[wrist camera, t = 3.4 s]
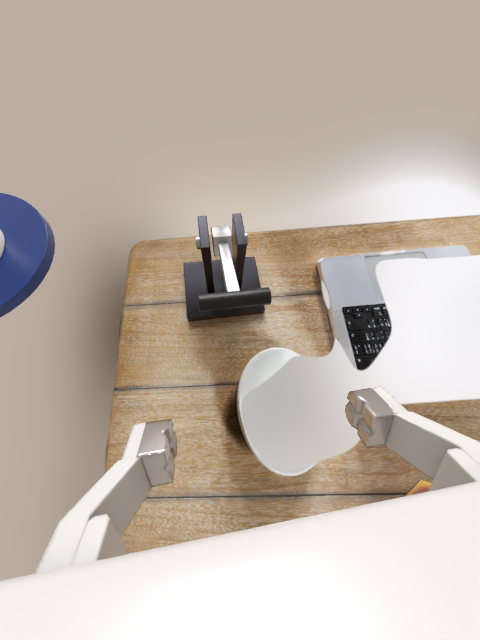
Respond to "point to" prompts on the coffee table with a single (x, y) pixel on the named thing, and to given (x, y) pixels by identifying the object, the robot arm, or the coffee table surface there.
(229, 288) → the lever
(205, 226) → the bracket
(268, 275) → the coffee table surface
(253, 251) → the coffee table surface
